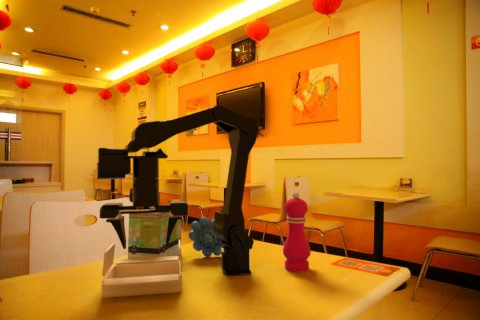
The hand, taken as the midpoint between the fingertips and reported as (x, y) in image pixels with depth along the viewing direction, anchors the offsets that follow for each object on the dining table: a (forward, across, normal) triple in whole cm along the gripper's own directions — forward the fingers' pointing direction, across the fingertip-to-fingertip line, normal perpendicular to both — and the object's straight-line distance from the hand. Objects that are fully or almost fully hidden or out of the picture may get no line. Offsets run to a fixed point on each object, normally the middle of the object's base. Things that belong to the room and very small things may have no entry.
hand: (146, 247), depth 73 cm
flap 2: (+2, -7, 0) cm, 8 cm away
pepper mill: (+9, -38, -5) cm, 39 cm away
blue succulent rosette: (+9, -16, -20) cm, 27 cm away
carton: (+9, 0, 0) cm, 9 cm away
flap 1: (+2, +8, 0) cm, 8 cm away
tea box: (+9, -1, -22) cm, 24 cm away
